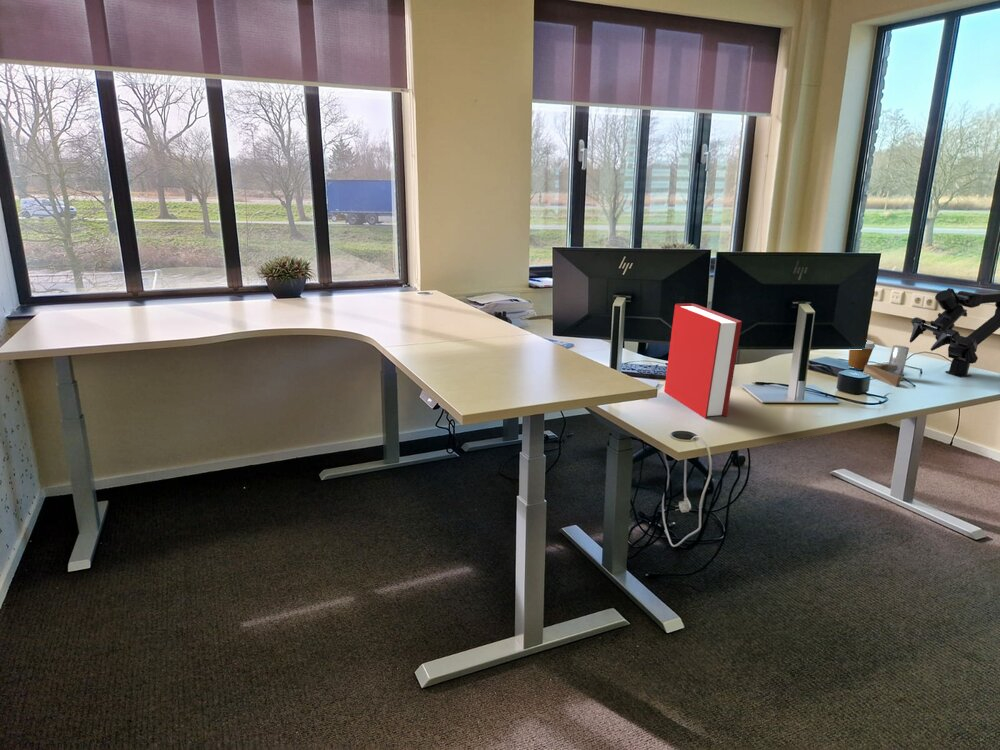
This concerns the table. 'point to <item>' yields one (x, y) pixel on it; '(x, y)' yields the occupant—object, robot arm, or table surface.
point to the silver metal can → (898, 360)
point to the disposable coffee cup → (861, 356)
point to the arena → (882, 374)
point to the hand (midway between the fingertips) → (920, 346)
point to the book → (702, 359)
